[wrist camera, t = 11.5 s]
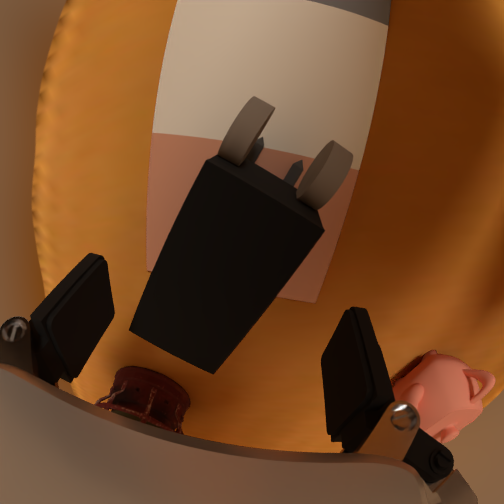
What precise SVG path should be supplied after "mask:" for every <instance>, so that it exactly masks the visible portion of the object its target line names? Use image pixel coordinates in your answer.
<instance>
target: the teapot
mask: <svg viewBox="0 0 504 504" xmlns="http://www.w3.org/2000/svg"><path fill="white" fill-rule="evenodd" d="M476 379H477V380H479V381H480V382H481V383H482V385H483V387H482V389H481V390H479V386H478V383H477V380H476ZM494 384H495V377H494V376H493V375H492V374H491V373H489V372H487V371H484V370H474V369H471V368H470V367H469V366H468V365H467V364H465V363H464V362H462V361H461V360H459V359H458V358H455V357H453V356H448V355H442V354H437V351H436V350H431V351H429V352H427V353H426V354H425V355H424V356H423V357H422V362H421V363H420V364H419V365H417V366H416V367H415V368H414V369H413V370H412V371H411V372H410V373H408V374H407V375H406V376H405V377H402V378H400V379H398V380H397V381H396V382H395V383H394V387H393V388H392V389H393V393H394V397H395V401H399V400H402V401H406V402H408V403H411V404H412V405H413V406H414V407H415V408H416V409H417V411H418V413H419V415H420V426H419V427H420V428H421V429H422V430H424V431H425V432H426V433H427V434H429V435H430V436H431V437H433V438H434V439H435V440H437V441H438V442H441V443H446V442H449V441H451V440H452V439H454V438H455V437H457V435H458V434H459V431H460V430H461V429H462V428H464V427H465V426H466V425H468V424H470V423H471V422H473V421H474V420H475V419H476V418H477V417H478V416H479V415H480V414H481V413H482V411H483V408H482V401H481V399H482V398H483V397H484V396H485V395H486V394H487V393H488V392H489V391H490V390H491V389H492V388H493V386H494Z"/></svg>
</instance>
